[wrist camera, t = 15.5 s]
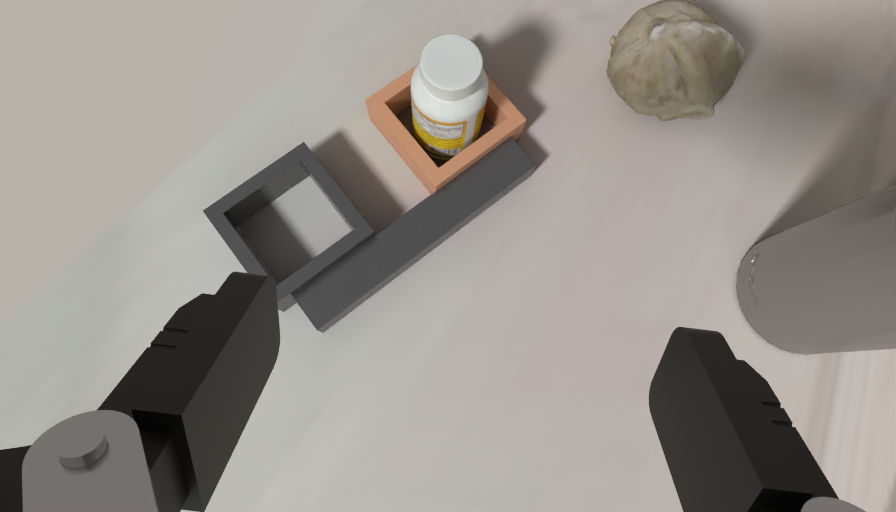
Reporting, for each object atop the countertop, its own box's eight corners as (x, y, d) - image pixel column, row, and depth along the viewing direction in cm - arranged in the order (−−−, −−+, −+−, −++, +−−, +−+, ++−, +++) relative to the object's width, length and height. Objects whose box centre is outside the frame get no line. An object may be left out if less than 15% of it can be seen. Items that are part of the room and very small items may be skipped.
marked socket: (453, 61, 44) (455, 38, 42) (520, 137, 43) (526, 120, 40) (369, 119, 43) (365, 100, 40) (435, 199, 42) (436, 186, 39)
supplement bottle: (438, 174, 42) (440, 116, 33) (400, 122, 43) (391, 51, 34) (493, 138, 43) (510, 71, 34) (454, 88, 44) (461, 9, 35)
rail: (440, 70, 44) (441, 48, 41) (531, 175, 42) (538, 160, 39) (219, 222, 41) (202, 210, 38) (307, 344, 39) (297, 341, 36)
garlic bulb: (718, 125, 44) (799, 53, 34) (627, 165, 43) (685, 102, 33) (660, 32, 46) (722, -62, 36) (573, 68, 45) (612, -19, 35)
